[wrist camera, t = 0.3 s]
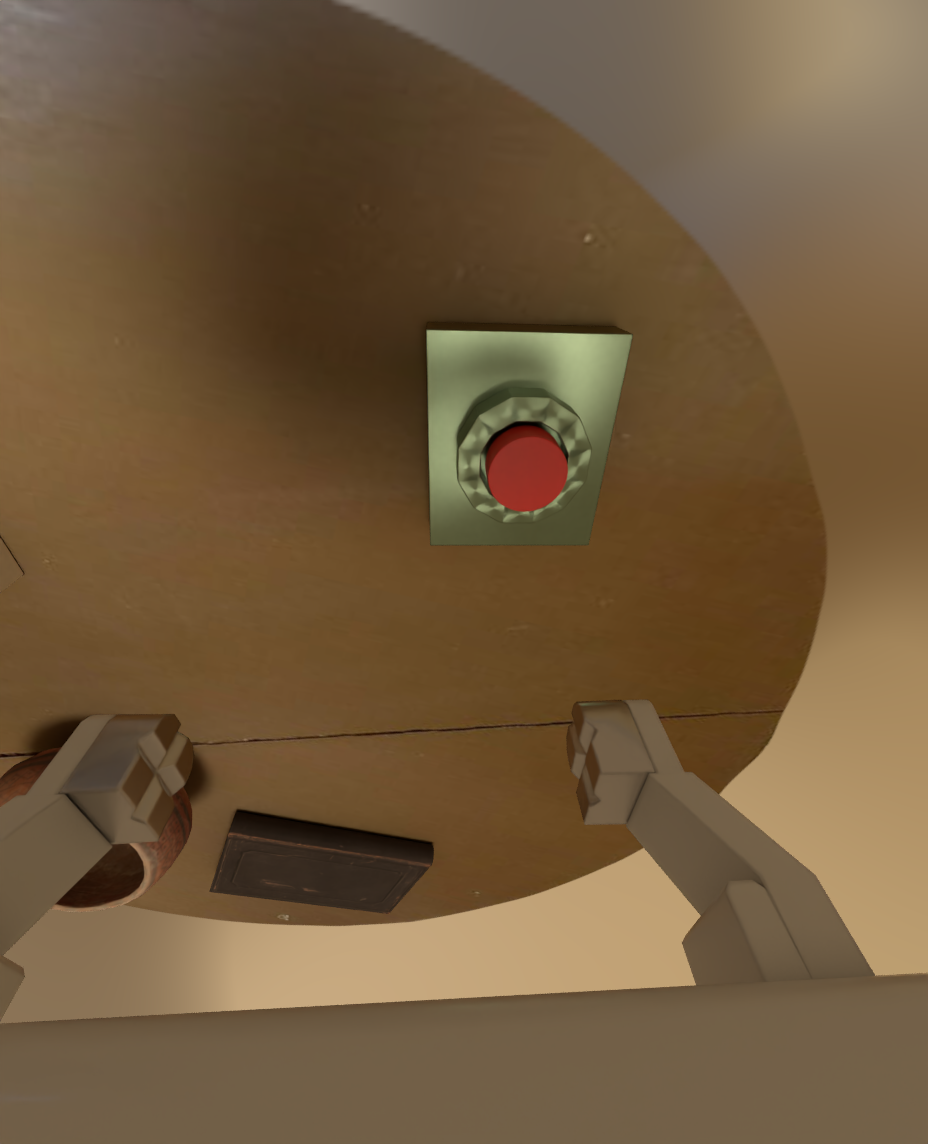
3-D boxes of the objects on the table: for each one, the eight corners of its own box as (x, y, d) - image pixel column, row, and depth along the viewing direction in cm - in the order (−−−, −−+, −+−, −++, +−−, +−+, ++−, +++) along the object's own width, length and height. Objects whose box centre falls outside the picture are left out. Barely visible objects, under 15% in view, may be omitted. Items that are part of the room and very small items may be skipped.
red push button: (487, 424, 23) (490, 436, 22) (565, 425, 23) (574, 436, 22) (483, 497, 25) (485, 512, 24) (555, 497, 26) (561, 512, 24)
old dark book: (390, 894, 64) (389, 914, 62) (216, 871, 58) (209, 892, 56) (434, 842, 56) (433, 862, 54) (237, 808, 50) (229, 830, 48)
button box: (427, 322, 24) (424, 335, 20) (616, 326, 24) (647, 340, 21) (430, 524, 31) (429, 561, 27) (578, 524, 31) (596, 561, 28)
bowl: (194, 719, 41) (133, 836, 33) (224, 810, 50) (182, 920, 42) (2, 711, 40) (-112, 832, 31) (68, 807, 48) (-7, 921, 40)
